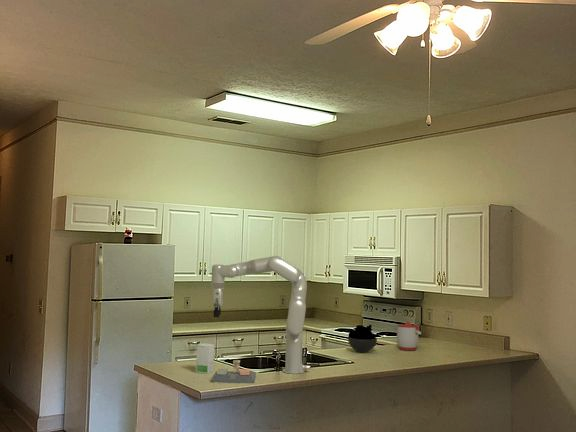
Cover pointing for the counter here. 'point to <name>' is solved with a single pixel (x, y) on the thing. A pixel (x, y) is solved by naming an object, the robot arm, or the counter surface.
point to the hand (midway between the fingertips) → (217, 316)
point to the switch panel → (234, 378)
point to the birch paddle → (236, 366)
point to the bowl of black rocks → (362, 339)
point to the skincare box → (205, 358)
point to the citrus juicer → (407, 336)
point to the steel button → (222, 371)
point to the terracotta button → (245, 372)
